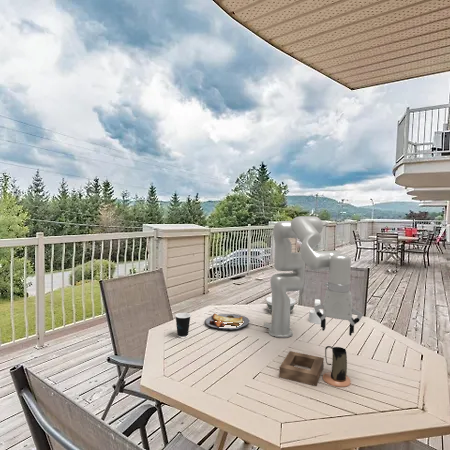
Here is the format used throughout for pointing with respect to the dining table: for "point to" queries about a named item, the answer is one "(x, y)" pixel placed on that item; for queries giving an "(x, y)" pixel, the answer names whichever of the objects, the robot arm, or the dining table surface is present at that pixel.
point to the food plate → (226, 320)
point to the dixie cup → (182, 324)
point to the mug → (338, 364)
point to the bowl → (269, 303)
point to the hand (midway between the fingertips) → (336, 331)
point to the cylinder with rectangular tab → (315, 314)
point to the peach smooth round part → (334, 383)
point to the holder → (302, 374)
